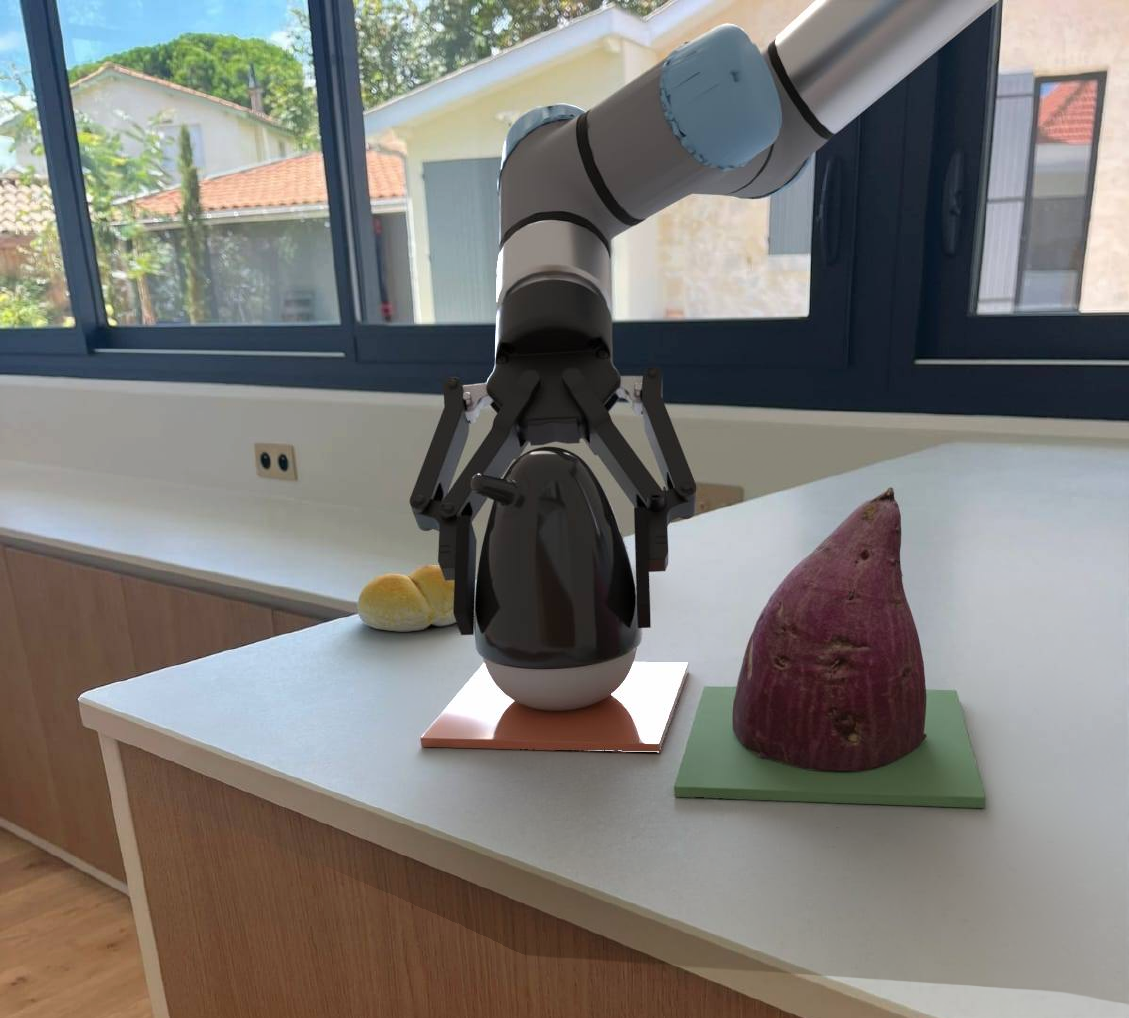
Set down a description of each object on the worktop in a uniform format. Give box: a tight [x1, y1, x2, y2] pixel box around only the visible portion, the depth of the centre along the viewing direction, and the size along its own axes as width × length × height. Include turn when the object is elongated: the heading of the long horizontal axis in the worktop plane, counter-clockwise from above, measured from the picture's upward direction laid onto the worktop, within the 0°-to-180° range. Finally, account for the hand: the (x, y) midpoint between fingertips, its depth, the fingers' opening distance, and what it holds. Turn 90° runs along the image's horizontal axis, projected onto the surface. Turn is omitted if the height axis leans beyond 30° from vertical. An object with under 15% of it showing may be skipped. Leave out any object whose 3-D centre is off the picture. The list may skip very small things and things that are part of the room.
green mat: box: [673, 685, 986, 809], centre depth 64 cm, size 15×15×1 cm
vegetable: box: [732, 487, 927, 772], centre depth 61 cm, size 10×10×15 cm
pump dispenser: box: [471, 446, 643, 711], centre depth 68 cm, size 10×10×15 cm
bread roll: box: [356, 564, 457, 633], centre depth 91 cm, size 8×9×4 cm
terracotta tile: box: [419, 661, 690, 752], centre depth 71 cm, size 14×14×1 cm
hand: (553, 620), depth 66 cm, fingers open, 10 cm apart
